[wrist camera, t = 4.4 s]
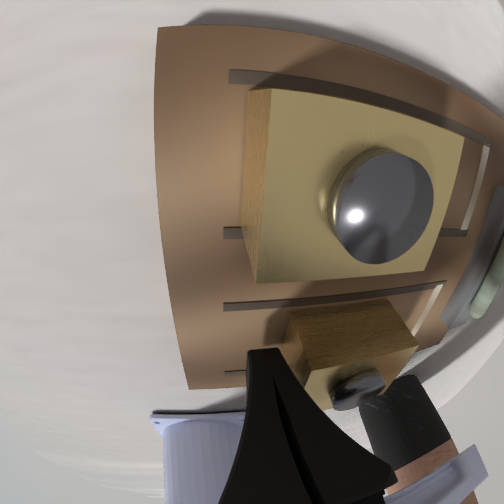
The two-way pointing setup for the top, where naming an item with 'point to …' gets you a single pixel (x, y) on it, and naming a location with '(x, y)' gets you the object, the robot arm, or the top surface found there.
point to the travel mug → (408, 433)
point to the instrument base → (230, 182)
